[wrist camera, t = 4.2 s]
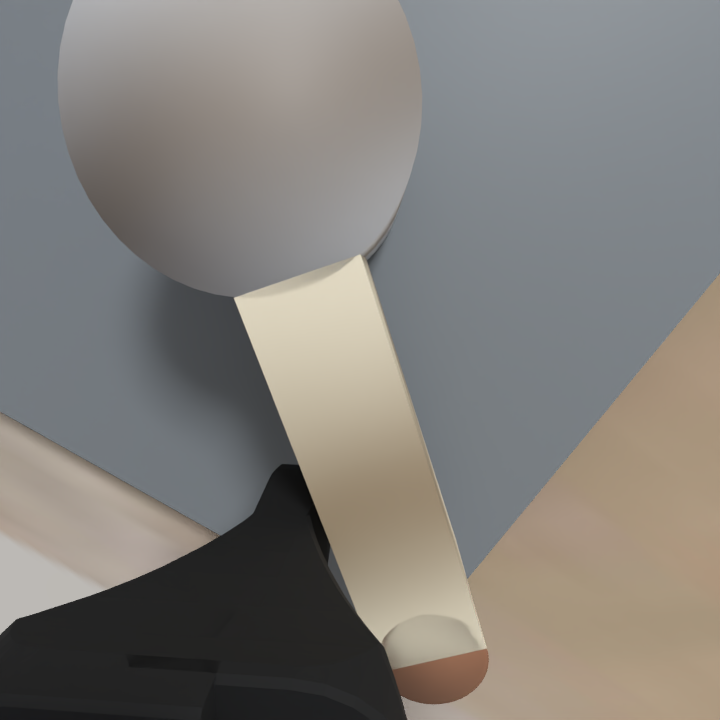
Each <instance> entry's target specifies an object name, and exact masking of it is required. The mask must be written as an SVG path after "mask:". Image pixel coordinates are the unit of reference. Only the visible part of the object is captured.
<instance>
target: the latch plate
mask: <svg viewBox="0 0 720 720" xmlns="http://www.w3.org/2000/svg"><path fill="white" fill-rule="evenodd" d="M398 1H399V3H400V5H401V7H402V9H403V11H404V13H405V15H406V18H407V21H408V24H409V27H410V30H411V33H412V36H413V39H414V43H415V48H416V52H417V57H418V62H419V67H420V76H421V88H422V119H421V130H420V136H419V142H418V149H417V153H416V157H415V160H414V164H413V167H412V171H411V175H410V178H409V181H408V184H407V186H406V189H405V192H404V195H403V198H402V201H401V204H400V207H399V210H398V213H397V216H396V218H395V220H394V223H393V225H392V228H391V230H390V231H389V233H388V235H387V237H386V238H385V240H384V241H383V243H382V244H381V245H380V247H379V248H378V249H377V251H376V252H375V253H374V254H373V255H372V256H371V257H370V258H369V259H368V260H367V262H368V265H369V268H370V272H371V275H372V278H373V281H374V284H375V287H376V290H377V294H378V297H379V300H380V303H381V306H382V309H383V312H384V316H385V319H386V322H387V325H388V328H389V331H390V334H391V338H392V341H393V344H394V347H395V350H396V353H397V356H398V359H399V363H400V366H401V369H402V372H403V375H404V378H405V381H406V385H407V388H408V391H409V394H410V397H411V400H412V403H413V407H414V410H415V413H416V416H417V419H418V422H419V425H420V429H421V432H422V435H423V438H424V441H425V444H426V447H427V450H428V454H429V457H430V460H431V463H432V466H433V469H434V472H435V476H436V479H437V482H438V485H439V488H440V491H441V494H442V498H443V501H444V504H445V507H446V510H447V513H448V516H449V520H450V523H451V526H452V529H453V532H454V535H455V538H456V542H457V545H458V549H459V552H460V556H461V559H462V563H463V566H464V570H465V573H466V577H467V579H468V578H469V576H470V575H471V574H472V573H473V571H474V570H475V569H476V568H477V567H478V565H479V564H480V563H481V562H482V561H483V559H484V558H485V557H486V556H487V555H488V553H489V552H490V551H491V550H492V548H493V547H494V546H495V545H496V544H497V542H498V541H499V540H500V539H501V538H502V536H503V535H504V534H505V533H506V532H507V530H508V529H509V528H510V527H511V525H512V524H513V523H514V522H515V521H516V519H517V518H518V517H519V516H520V515H521V513H522V512H523V511H524V510H525V509H526V507H527V506H528V505H529V504H530V502H531V501H532V500H533V499H534V498H535V496H536V495H537V494H538V493H539V492H540V490H541V489H542V488H543V487H544V485H545V484H546V483H547V482H548V481H549V479H550V478H551V477H552V476H553V475H554V473H555V472H556V471H557V470H558V469H559V467H560V466H561V465H562V464H563V462H564V461H565V460H566V459H567V458H568V456H569V455H570V454H571V453H572V452H573V450H574V449H575V448H576V447H577V446H578V444H579V443H580V442H581V441H582V439H583V438H584V437H585V436H586V435H587V433H588V432H589V431H590V430H591V429H592V427H593V426H594V425H595V424H596V423H597V421H598V420H599V419H600V418H601V416H602V415H603V414H604V413H605V412H606V410H607V409H608V408H609V407H610V406H611V404H612V403H613V402H614V401H615V399H616V398H617V397H618V396H619V395H620V393H621V392H622V391H623V390H624V389H625V387H626V386H627V385H628V384H629V383H630V381H631V380H632V379H633V378H634V376H635V375H636V374H637V373H638V372H639V370H640V369H641V368H642V367H643V366H644V364H645V363H646V362H647V361H648V360H649V358H650V357H651V356H652V355H653V353H654V352H655V351H656V350H657V349H658V347H659V346H660V345H661V344H662V343H663V341H664V340H665V339H666V338H667V337H668V335H669V334H670V333H671V332H672V330H673V329H674V328H675V327H676V326H677V324H678V323H679V322H680V321H681V320H682V318H683V317H684V316H685V315H686V313H687V312H688V311H689V310H690V309H691V307H692V306H693V305H694V304H695V303H696V301H697V300H698V299H699V298H700V297H701V295H702V294H703V293H704V292H705V290H706V289H707V288H708V287H709V286H710V284H711V283H712V282H713V281H714V280H715V278H716V277H717V276H718V275H719V274H720V0H398ZM72 2H73V0H0V412H2V413H3V414H5V415H7V416H9V417H10V418H12V419H14V420H16V421H18V422H19V423H21V424H23V425H25V426H26V427H28V428H30V429H32V430H34V431H35V432H37V433H39V434H41V435H42V436H44V437H46V438H48V439H50V440H51V441H53V442H55V443H57V444H58V445H60V446H62V447H64V448H66V449H67V450H69V451H71V452H73V453H74V454H76V455H78V456H80V457H82V458H83V459H85V460H87V461H89V462H91V463H92V464H94V465H96V466H98V467H99V468H101V469H103V470H105V471H107V472H108V473H110V474H112V475H114V476H115V477H117V478H119V479H121V480H123V481H124V482H126V483H128V484H130V485H131V486H133V487H135V488H137V489H139V490H140V491H142V492H144V493H146V494H147V495H149V496H151V497H153V498H155V499H156V500H158V501H160V502H162V503H163V504H165V505H167V506H169V507H171V508H172V509H174V510H176V511H178V512H179V513H181V514H183V515H185V516H187V517H188V518H190V519H192V520H194V521H195V522H197V523H199V524H201V525H203V526H204V527H206V528H208V529H210V530H211V531H213V532H215V533H217V534H219V535H220V536H221V535H223V534H224V533H226V532H228V531H229V530H231V529H232V528H234V527H235V526H237V525H238V524H240V523H241V522H243V521H244V520H245V519H247V518H248V517H249V516H251V515H252V514H253V513H254V511H255V509H256V506H257V504H258V502H259V500H260V498H261V495H262V493H263V491H264V489H265V487H266V484H267V482H268V480H269V478H270V476H271V474H272V473H273V472H274V471H275V470H276V468H278V467H279V466H280V465H281V464H294V465H299V463H298V461H297V458H296V456H295V453H294V451H293V448H292V446H291V443H290V440H289V438H288V435H287V433H286V430H285V428H284V425H283V423H282V420H281V417H280V415H279V412H278V410H277V407H276V405H275V402H274V400H273V397H272V394H271V392H270V389H269V387H268V384H267V382H266V379H265V377H264V374H263V371H262V369H261V366H260V364H259V361H258V359H257V356H256V354H255V351H254V348H253V346H252V343H251V341H250V338H249V336H248V333H247V330H246V328H245V325H244V323H243V320H242V318H241V315H240V313H239V310H238V307H237V305H236V302H235V300H234V298H235V297H229V296H223V295H216V294H212V293H208V292H205V291H201V290H197V289H194V288H192V287H189V286H187V285H184V284H182V283H180V282H177V281H175V280H173V279H171V278H169V277H168V276H166V275H164V274H162V273H161V272H159V271H157V270H155V269H154V268H152V267H151V266H150V265H148V264H147V263H146V262H144V261H143V260H142V259H140V258H139V257H138V256H136V255H135V254H134V253H133V252H132V251H131V250H130V249H129V248H128V247H127V246H126V245H125V244H124V243H122V242H121V241H120V240H119V239H118V238H117V236H116V235H115V234H114V233H113V232H112V230H111V229H110V228H109V227H108V226H107V224H106V223H105V222H104V221H103V220H102V218H101V217H100V215H99V214H98V212H97V211H96V209H95V208H94V206H93V205H92V203H91V201H90V200H89V198H88V196H87V194H86V192H85V190H84V188H83V187H82V185H81V183H80V181H79V179H78V177H77V174H76V171H75V169H74V166H73V164H72V161H71V158H70V156H69V153H68V149H67V145H66V141H65V138H64V134H63V130H62V125H61V118H60V110H59V103H58V64H59V53H60V45H61V40H62V36H63V31H64V26H65V22H66V19H67V16H68V13H69V10H70V7H71V4H72ZM328 567H329V569H330V571H331V573H332V574H333V576H334V578H335V579H336V581H337V583H338V585H339V586H340V588H341V590H342V592H343V593H344V595H345V597H346V598H347V600H348V601H349V603H350V604H351V606H352V607H353V608H354V610H355V611H356V609H355V607H354V604H353V602H352V599H351V596H350V594H349V591H348V589H347V586H346V584H345V581H344V578H343V576H342V573H341V571H340V568H339V566H338V563H337V561H336V558H335V555H334V553H333V550H332V548H331V545H330V552H329V560H328Z"/></svg>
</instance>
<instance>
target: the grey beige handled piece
mask: <svg viewBox="0 0 720 720" xmlns="http://www.w3.org/2000/svg"><path fill="white" fill-rule="evenodd" d="M58 103H59V110H60V118H61V125H62V130H63V134H64V138H65V141H66V145H67V149H68V153H69V156H70V158H71V161H72V164H73V166H74V169H75V171H76V174H77V177H78V179H79V181H80V183H81V185H82V187H83V188H84V190H85V192H86V194H87V196H88V198H89V200H90V201H91V203H92V205H93V206H94V208H95V209H96V211H97V212H98V214H99V215H100V217H101V218H102V220H103V221H104V222H105V223H106V224H107V226H108V227H109V228H110V229H111V230H112V232H113V233H114V234H115V235H116V236H117V238H118V239H119V240H120V241H121V242H122V243H124V244H125V245H126V246H127V247H128V248H129V249H130V250H131V251H132V252H133V253H134V254H135V255H136V256H138V257H139V258H140V259H142V260H143V261H144V262H146V263H147V264H148V265H150V266H151V267H152V268H154V269H155V270H157V271H159V272H161V273H162V274H164V275H166V276H168V277H169V278H171V279H173V280H175V281H177V282H180V283H182V284H184V285H187V286H189V287H192V288H194V289H197V290H201V291H205V292H208V293H212V294H216V295H223V296H229V297H235V298H234V300H235V302H236V305H237V307H238V310H239V313H240V315H241V318H242V320H243V323H244V325H245V328H246V330H247V333H248V336H249V338H250V341H251V343H252V346H253V348H254V351H255V354H256V356H257V359H258V361H259V364H260V366H261V369H262V371H263V374H264V377H265V379H266V382H267V384H268V387H269V389H270V392H271V394H272V397H273V400H274V402H275V405H276V407H277V410H278V412H279V415H280V417H281V420H282V423H283V425H284V428H285V430H286V433H287V435H288V438H289V440H290V443H291V446H292V448H293V451H294V453H295V456H296V458H297V461H298V463H299V466H300V469H301V471H302V474H303V476H304V479H305V481H306V484H307V486H308V489H309V492H310V494H311V497H312V499H313V502H314V504H315V507H316V509H317V512H318V515H319V517H320V520H321V522H322V525H323V527H324V530H325V532H326V535H327V538H328V540H329V543H330V545H331V548H332V550H333V553H334V555H335V558H336V561H337V563H338V566H339V568H340V571H341V573H342V576H343V578H344V581H345V584H346V586H347V589H348V591H349V594H350V596H351V599H352V602H353V604H354V607H355V609H356V612H357V614H358V616H359V617H360V618H361V620H362V621H363V622H364V623H365V625H366V626H367V627H368V628H369V630H370V631H371V632H372V633H373V635H374V636H375V637H376V638H377V639H378V640H379V642H380V643H381V644H382V645H383V646H384V647H385V650H386V653H387V656H388V659H389V662H390V665H391V668H392V671H393V674H394V677H395V680H396V683H397V686H398V689H399V693H400V695H401V696H403V697H405V698H407V699H409V700H412V701H415V702H419V703H424V704H443V703H449V702H453V701H456V700H458V699H461V698H463V697H465V696H467V695H468V694H469V693H471V692H472V691H473V690H475V689H476V688H477V687H478V686H479V684H480V683H481V682H482V680H483V679H484V677H485V674H486V672H487V669H488V662H489V658H488V651H487V647H486V644H485V640H484V637H483V633H482V630H481V626H480V623H479V619H478V616H477V612H476V609H475V605H474V602H473V598H472V594H471V591H470V587H469V584H468V580H467V577H466V573H465V570H464V566H463V563H462V559H461V556H460V552H459V549H458V545H457V542H456V538H455V535H454V532H453V529H452V526H451V523H450V520H449V516H448V513H447V510H446V507H445V504H444V501H443V498H442V494H441V491H440V488H439V485H438V482H437V479H436V476H435V472H434V469H433V466H432V463H431V460H430V457H429V454H428V450H427V447H426V444H425V441H424V438H423V435H422V432H421V429H420V425H419V422H418V419H417V416H416V413H415V410H414V407H413V403H412V400H411V397H410V394H409V391H408V388H407V385H406V381H405V378H404V375H403V372H402V369H401V366H400V363H399V359H398V356H397V353H396V350H395V347H394V344H393V341H392V338H391V334H390V331H389V328H388V325H387V322H386V319H385V316H384V312H383V309H382V306H381V303H380V300H379V297H378V294H377V290H376V287H375V284H374V281H373V278H372V275H371V272H370V268H369V265H368V262H367V260H368V259H369V258H370V257H371V256H372V255H373V254H374V253H375V252H376V251H377V249H378V248H379V247H380V245H381V244H382V243H383V241H384V240H385V238H386V237H387V235H388V233H389V231H390V230H391V228H392V225H393V223H394V220H395V218H396V216H397V213H398V210H399V207H400V204H401V201H402V198H403V195H404V192H405V189H406V186H407V184H408V181H409V178H410V175H411V171H412V167H413V164H414V160H415V157H416V153H417V149H418V142H419V136H420V130H421V119H422V88H421V76H420V67H419V62H418V57H417V52H416V48H415V43H414V39H413V36H412V33H411V30H410V27H409V24H408V21H407V18H406V15H405V13H404V11H403V9H402V7H401V5H400V3H399V1H398V0H73V2H72V4H71V7H70V10H69V13H68V16H67V19H66V22H65V26H64V31H63V36H62V40H61V45H60V53H59V64H58Z"/></svg>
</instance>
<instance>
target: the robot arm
mask: <svg viewBox="0 0 720 720" xmlns="http://www.w3.org/2000/svg"><path fill="white" fill-rule="evenodd" d="M329 552H330V543H329V540H328V538H327V535H326V532H325V530H324V527H323V525H322V522H321V520H320V517H319V515H318V512H317V509H316V507H315V504H314V502H313V499H312V497H311V494H310V492H309V489H308V486H307V484H306V481H305V479H304V476H303V474H302V471H301V469H300V466H299V465H294V464H281V465H280V466H279V467H278V468H276V470H275V471H274V472H273V473H272V474H271V476H270V478H269V480H268V482H267V484H266V487H265V489H264V491H263V493H262V495H261V498H260V500H259V502H258V504H257V506H256V509H255V511H254V513H253V514H252V515H251V516H249V517H248V518H247V519H245V520H244V521H243V522H241V523H240V524H238V525H237V526H235V527H234V528H232V529H231V530H229V531H228V532H226V533H224V534H223V535H221V536H219V537H218V538H216V539H214V540H213V541H211V542H209V543H208V544H206V545H204V546H202V547H200V548H199V549H197V550H195V551H193V552H191V553H189V554H187V555H185V556H183V557H181V558H179V559H177V560H175V561H173V562H171V563H169V564H167V565H165V566H163V567H161V568H159V569H156V570H154V571H152V572H149V573H147V574H145V575H142V576H140V577H138V578H136V579H133V580H131V581H128V582H125V583H123V584H120V585H118V586H115V587H113V588H110V589H108V590H105V591H102V592H99V593H97V594H94V595H91V596H88V597H85V598H82V599H79V600H76V601H73V602H70V603H67V604H64V605H61V606H58V607H54V608H52V609H48V610H45V611H42V612H39V613H36V614H33V615H30V616H26V617H23V618H19V619H17V620H15V621H14V622H13V623H12V624H11V625H10V626H9V627H8V628H7V629H6V630H5V631H4V632H3V633H2V634H1V635H0V720H407V717H406V714H405V710H404V706H403V703H402V699H401V696H400V693H399V689H398V686H397V683H396V680H395V677H394V674H393V671H392V668H391V665H390V662H389V659H388V656H387V653H386V650H385V647H384V646H383V645H382V644H381V643H380V642H379V640H378V639H377V638H376V637H375V636H374V635H373V633H372V632H371V631H370V630H369V628H368V627H367V626H366V625H365V623H364V622H363V621H362V620H361V618H360V617H359V616H358V614H357V613H356V611H355V610H354V608H353V607H352V606H351V604H350V603H349V601H348V600H347V598H346V597H345V595H344V593H343V592H342V590H341V588H340V586H339V585H338V583H337V581H336V579H335V578H334V576H333V574H332V573H331V571H330V569H329V567H328V560H329Z"/></svg>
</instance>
